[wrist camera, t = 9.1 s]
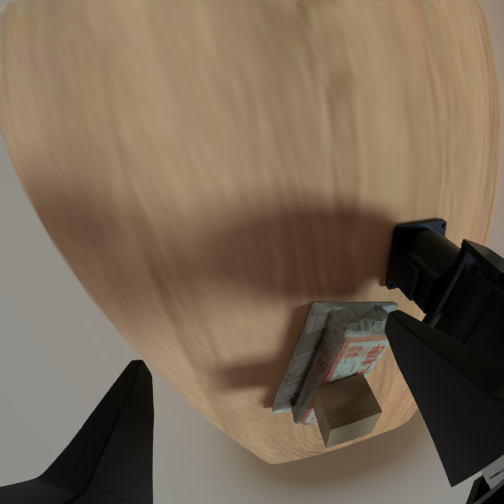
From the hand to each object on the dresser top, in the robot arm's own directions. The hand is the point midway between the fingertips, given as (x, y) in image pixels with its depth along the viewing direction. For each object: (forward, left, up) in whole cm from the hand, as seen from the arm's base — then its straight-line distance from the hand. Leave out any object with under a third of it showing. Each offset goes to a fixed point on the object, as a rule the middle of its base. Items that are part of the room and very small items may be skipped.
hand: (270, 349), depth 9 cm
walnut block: (-7, +18, -8) cm, 21 cm away
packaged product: (-8, +19, -13) cm, 24 cm away
